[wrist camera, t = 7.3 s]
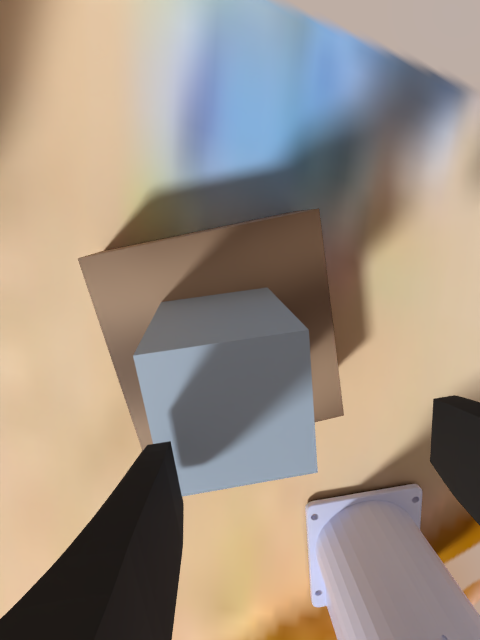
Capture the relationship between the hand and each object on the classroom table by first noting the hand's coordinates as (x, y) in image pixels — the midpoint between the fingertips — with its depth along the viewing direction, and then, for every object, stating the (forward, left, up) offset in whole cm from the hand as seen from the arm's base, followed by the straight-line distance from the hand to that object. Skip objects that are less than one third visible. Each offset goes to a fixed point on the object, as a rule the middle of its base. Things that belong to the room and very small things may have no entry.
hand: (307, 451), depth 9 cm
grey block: (+1, +2, -7) cm, 7 cm away
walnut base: (+1, +2, -11) cm, 11 cm away
